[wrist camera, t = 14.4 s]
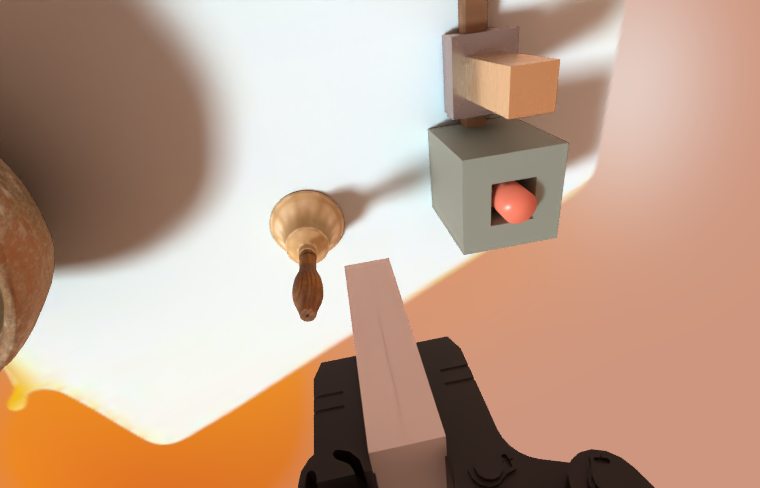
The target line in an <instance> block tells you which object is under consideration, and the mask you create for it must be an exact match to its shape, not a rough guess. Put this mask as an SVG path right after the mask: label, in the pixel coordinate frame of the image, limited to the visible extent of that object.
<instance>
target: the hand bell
mask: <svg viewBox="0 0 760 488" xmlns="http://www.w3.org/2000/svg"><path fill="white" fill-rule="evenodd" d="M270 230H271V234H272V236H273V238H274V240H275V241H276V243H277V244H278V245H279V246H280V247H281V248H282V249H284V250H285V251H286V252H287V254H288V256H289V257H290V258H291V259H292V260H293V261H295V262H296V263H299V267H300V269H299V272H298V274H297V276H296V278H295V280H294V284H293V292H292V294H293V301H294V304H295V306H296V308H297V310H298V312H299V315H300V318H301V319H302V320H304V321H307V322H308V321H312V320H314V319H315V317H316V314H317V311H318V309H319V307H320V305H321V303H322V300H323V285H322V281H321V278H320V276H319V274H318V272H317V271H316V263H318V262H320V261H321V260H323V259H324V258H325V256H326V255H327V253H328V251H330V250H331V249H332V248H333V247H334V246H336V244H337V243H338V242H339V240H340V239H341V237H342V234H343V231H344V218H343V214H342V212H341V210H340V208H339V206H338V205H337V204H336V203H335V202H334V201H333V200H332V199H331V198H329V197H328V196H326V195H324V194H322V193H319V192H315V191H307V190H306V191H297V192H294V193H291V194H289V195H287V196H285V197H284V198H282V199H281V200H280V201H279V202H278V203H277V204H276V206H275V207H274V209H273V211H272V213H271V216H270Z"/></svg>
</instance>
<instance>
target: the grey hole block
mask: <svg viewBox="0 0 760 488" xmlns="http://www.w3.org/2000/svg"><path fill="white" fill-rule="evenodd" d="M428 139H429V157H430V174H431V191H432V207H433V208H434V210H435V211H436V213H437V215H438V216H439V218H440V219H441V221H442V222H443V224H444V225H445V227H446V228H447V230H448V231H449V233H450V235H451V236H452V238H453V239H454V241H455V242H456V244H457V245H458V247H459V248H460V250H461V251H462V253H463V254H464V255H466V254H472V253H477V252H482V251H488V250H493V249H499V248H504V247H509V246H515V245H520V244H526V243H531V242H536V241H542V240H547V239H552V238H557V232H558V225H559V216H560V209H561V201H562V193H563V185H564V177H565V169H566V161H567V153H568V145H569V143H568V142H566V141H564V140H562V139H560V138H557V137H555V136H553V135H551V134H549V133H547V132H544V131H542V130H540V129H538V128H536V127H534V126H531V125H529V124H527V123H525V122H523V121H521V120H518V119H516V118H514V119H506V118H504V117H499V118H493V119H487V120H486V125H483V126H477V127H471V128H466V127H464V126H463V125H461V124H456V125H450V126H444V127H438V128H432V129H428ZM509 181H516V182H518V183H519V184H520V185H522V186H523V187H524V188H525V189H527V190H528V191H529V192H531V193H532V194H533V195H534V196H535V198H536V200H537V207H536V210H535V212H534V214H533V215H532V216H531V217H530V218H529V219H528V220H527V221H525V222H523V223H519V224H512V223H509V222H508V221H506V220H505V219H504V218H503V217H502V216H501V215H500V214H499V213H498V212H497V211H496V210H495V209H494V208H493V206H492V205H491V191H492V184H497V183H503V182H509Z"/></svg>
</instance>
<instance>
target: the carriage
mask: <svg viewBox="0 0 760 488" xmlns="http://www.w3.org/2000/svg"><path fill="white" fill-rule="evenodd" d="M518 38H519V27H495V28H488V30H483V31H476V32H469V33H462V34H447V35H442V45H443V73H444V101H445V112H446V113H447V116H448V117H449V118H451V119H452V120H459V119H465V118H471V117H478V116H484V115H490V114H498V115H500V116H502V117H504V118H506V119H514V118H520V117H527V116H533V115H539V114H545V113H551V112H555V104H556V94H557V84H558V75H559V65H560V59H556V58H548V57H541V56H534V55H527V54H520V53H518Z"/></svg>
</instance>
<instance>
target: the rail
mask: <svg viewBox="0 0 760 488" xmlns="http://www.w3.org/2000/svg"><path fill="white" fill-rule="evenodd" d="M487 17H488V0H458V19H459V34H462V33H469V32H476V31H483V30H487ZM460 124H461V125H463V126H464V127H466V128H471V127H477V126H483V125H486V115H484V116H478V117H471V118H465V119H460Z"/></svg>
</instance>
